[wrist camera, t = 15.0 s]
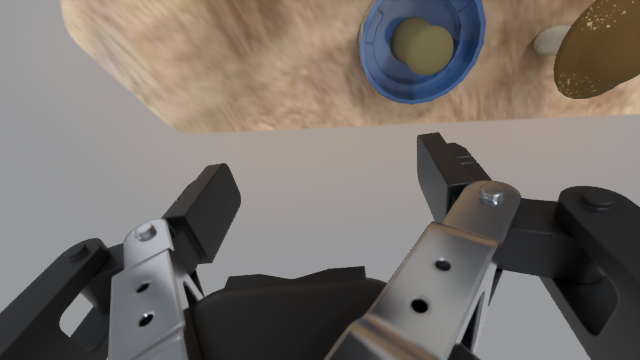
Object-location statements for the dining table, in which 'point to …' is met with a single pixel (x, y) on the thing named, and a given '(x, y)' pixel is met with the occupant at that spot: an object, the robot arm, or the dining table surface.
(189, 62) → the dining table surface
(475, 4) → the bowl
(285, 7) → the dining table surface
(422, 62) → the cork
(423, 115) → the dining table surface
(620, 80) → the mushroom
